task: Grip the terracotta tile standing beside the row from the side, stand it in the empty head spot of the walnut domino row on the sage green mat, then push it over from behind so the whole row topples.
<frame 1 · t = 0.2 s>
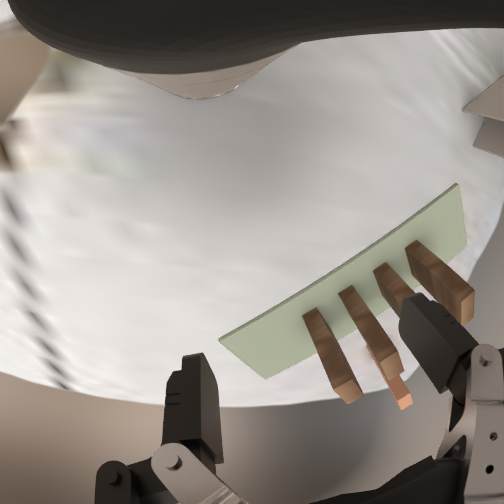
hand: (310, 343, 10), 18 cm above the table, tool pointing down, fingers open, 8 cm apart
tile 5: (414, 257, 32), resting on mat
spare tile: (375, 349, 40), on the table
brochure: (490, 107, 23), on the table
mat: (363, 290, 33), on the table
tile 4: (384, 279, 33), resting on mat
tile 3: (351, 301, 33), resting on mat
tile 2: (317, 322, 34), resting on mat
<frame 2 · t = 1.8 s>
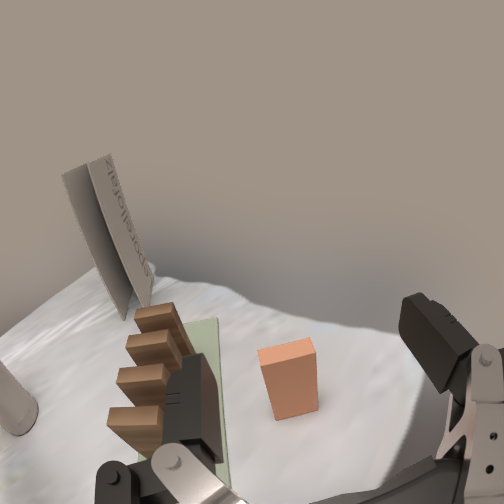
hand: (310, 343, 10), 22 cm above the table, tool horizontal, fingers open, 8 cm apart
tile 5: (182, 367, 38), resting on mat
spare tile: (295, 409, 29), on the table
brochure: (139, 298, 57), on the table
mat: (181, 414, 31), on the table
tile 4: (181, 394, 33), resting on mat
tile 3: (180, 426, 29), resting on mat
tile 2: (179, 460, 24), resting on mat
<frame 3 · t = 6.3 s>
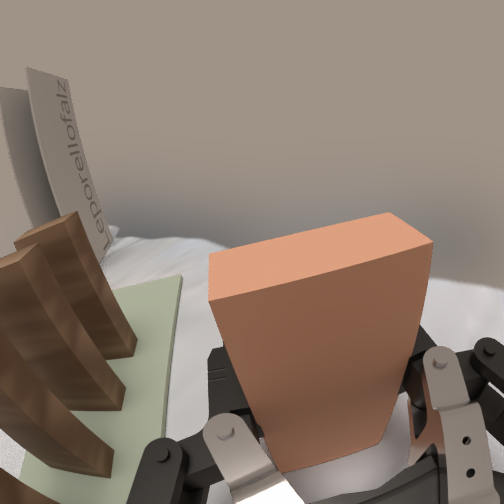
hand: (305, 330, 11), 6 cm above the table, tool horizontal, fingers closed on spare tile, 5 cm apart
tile 5: (109, 351, 20), resting on mat
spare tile: (325, 444, 11), on the table, touching gripper
brochure: (89, 262, 39), on the table
mat: (90, 438, 13), on the table
tile 4: (94, 400, 15), resting on mat
tile 3: (80, 460, 11), resting on mat
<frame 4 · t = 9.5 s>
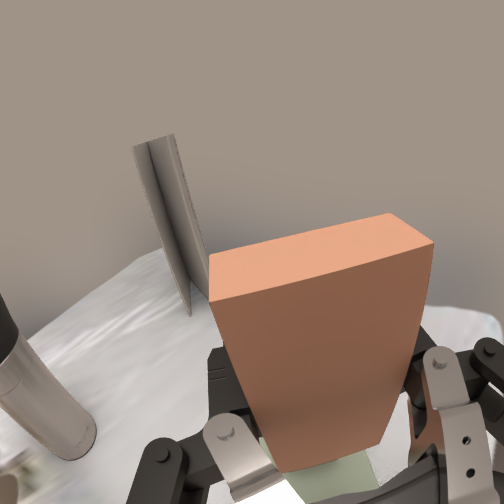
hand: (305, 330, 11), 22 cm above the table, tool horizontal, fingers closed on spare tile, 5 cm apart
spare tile: (326, 444, 11), point 16 cm above the table, touching gripper
brochure: (202, 292, 55), on the table
mat: (297, 409, 29), on the table
when the fingers open (8 cm above the table, at t = 12.8 s): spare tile stays where it is, resting on mat.
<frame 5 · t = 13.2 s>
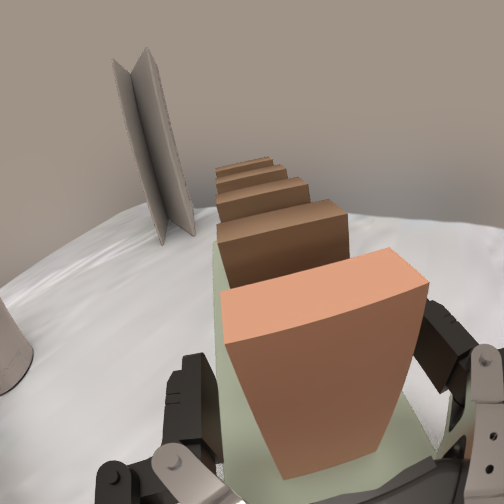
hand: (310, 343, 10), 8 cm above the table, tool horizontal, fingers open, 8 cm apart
tile 5: (265, 268, 30), resting on mat
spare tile: (326, 452, 12), resting on mat
brochure: (179, 226, 49), on the table
mat: (282, 321, 23), on the table
tile 4: (274, 296, 25), resting on mat
tile 3: (286, 333, 21), resting on mat
tile 2: (303, 384, 16), resting on mat
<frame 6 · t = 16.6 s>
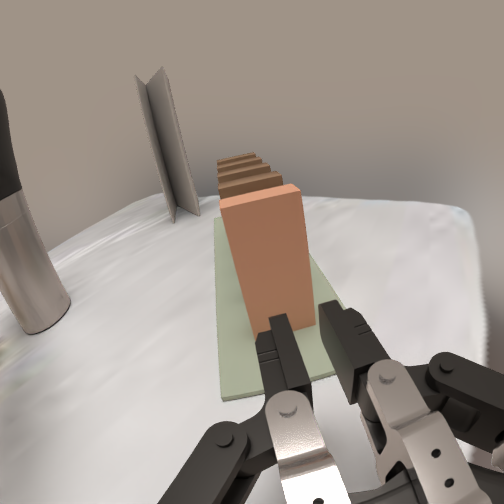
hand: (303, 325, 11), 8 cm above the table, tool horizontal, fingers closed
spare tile: (283, 325, 23), resting on mat
brochure: (186, 210, 60), on the table
mat: (261, 261, 34), on the table
tile 4: (257, 247, 36), resting on mat
tile 3: (263, 266, 32), resting on mat
tile 2: (271, 291, 27), resting on mat
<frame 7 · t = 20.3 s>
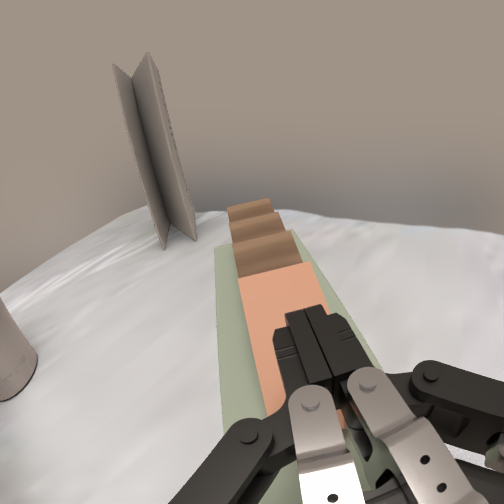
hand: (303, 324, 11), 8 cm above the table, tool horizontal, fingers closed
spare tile: (320, 435, 13), point 1 cm above the table, tilted 67°, touching mat, tile 2
brochure: (181, 231, 50), on the table
mat: (283, 329, 23), on the table
tile 4: (271, 285, 26), point 1 cm above the table, tilted 66°, touching tile 3, tile 5
tile 3: (282, 321, 22), point 1 cm above the table, tilted 66°, touching mat, tile 2, tile 4
tile 2: (298, 368, 17), point 1 cm above the table, tilted 66°, touching mat, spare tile, tile 3
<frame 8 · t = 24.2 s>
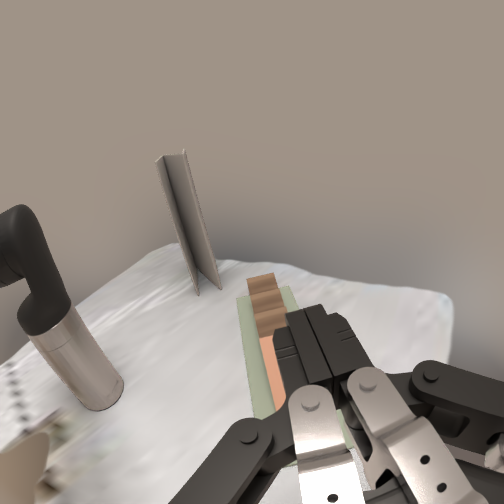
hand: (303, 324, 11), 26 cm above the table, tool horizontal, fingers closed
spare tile: (297, 411, 31), point 1 cm above the table, tilted 67°, touching mat, tile 2
brochure: (207, 278, 68), on the table
mat: (281, 358, 42), on the table
tile 4: (274, 332, 45), point 1 cm above the table, tilted 66°, touching tile 3, tile 5
tile 3: (280, 355, 41), point 1 cm above the table, tilted 66°, touching mat, tile 2, tile 4
tile 2: (288, 380, 36), point 1 cm above the table, tilted 66°, touching mat, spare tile, tile 3
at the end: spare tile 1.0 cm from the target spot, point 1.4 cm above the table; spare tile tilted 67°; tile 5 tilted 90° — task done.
